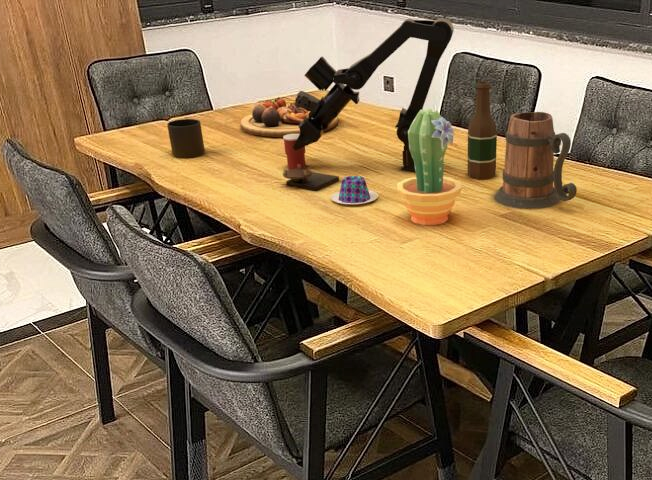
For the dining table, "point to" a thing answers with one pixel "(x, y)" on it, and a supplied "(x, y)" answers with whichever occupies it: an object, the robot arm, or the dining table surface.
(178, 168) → the dining table surface
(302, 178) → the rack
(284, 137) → the red cup with lid
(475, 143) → the beer bottle
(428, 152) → the potted cactus
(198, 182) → the dining table surface
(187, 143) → the dark brown cup
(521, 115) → the tankard
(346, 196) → the pudding
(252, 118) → the wooden plate
